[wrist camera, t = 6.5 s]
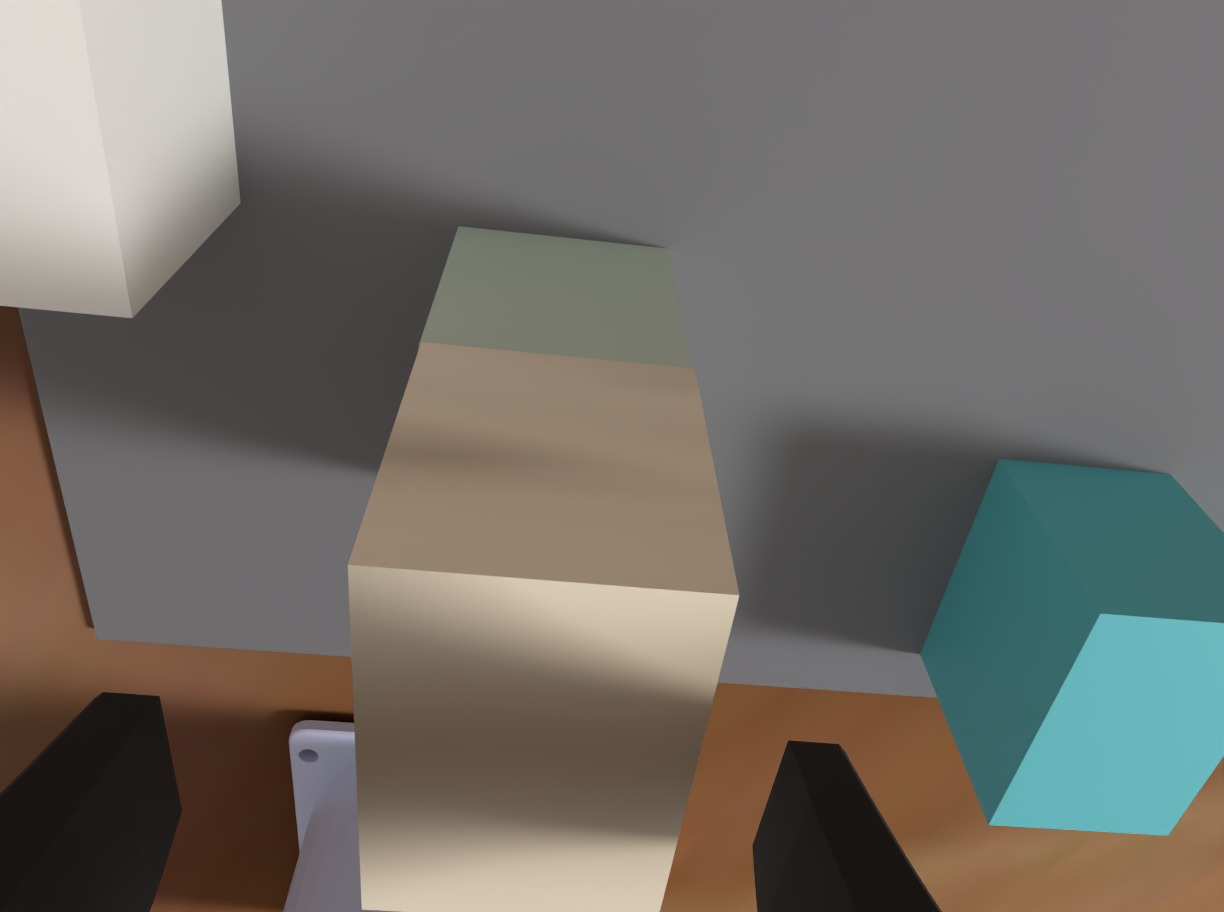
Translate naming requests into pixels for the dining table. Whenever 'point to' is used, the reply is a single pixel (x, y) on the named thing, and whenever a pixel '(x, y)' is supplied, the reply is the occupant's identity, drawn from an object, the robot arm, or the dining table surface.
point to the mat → (705, 283)
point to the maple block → (535, 633)
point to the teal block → (1084, 649)
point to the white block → (110, 148)
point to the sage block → (558, 298)
